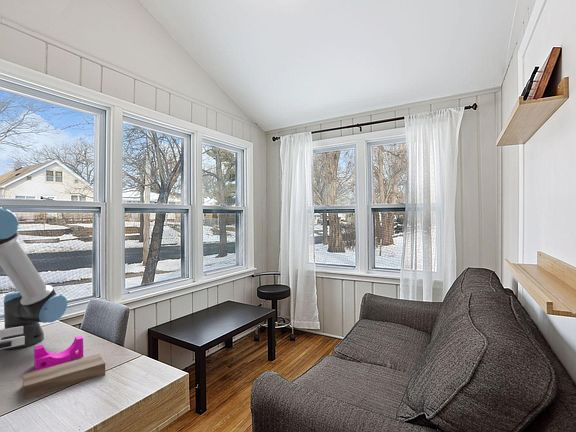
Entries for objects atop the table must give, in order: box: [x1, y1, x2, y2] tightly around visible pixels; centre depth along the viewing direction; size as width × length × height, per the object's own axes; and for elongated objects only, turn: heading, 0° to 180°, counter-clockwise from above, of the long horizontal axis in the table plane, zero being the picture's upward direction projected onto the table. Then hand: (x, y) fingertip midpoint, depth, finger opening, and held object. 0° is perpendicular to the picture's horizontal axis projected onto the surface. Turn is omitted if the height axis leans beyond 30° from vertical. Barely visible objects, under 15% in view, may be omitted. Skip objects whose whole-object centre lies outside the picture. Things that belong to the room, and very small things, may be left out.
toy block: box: [33, 335, 84, 371], centre depth 121 cm, size 15×6×8 cm, turn 134°
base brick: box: [22, 353, 106, 400], centre depth 107 cm, size 10×22×4 cm, turn 132°
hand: (24, 334), depth 112 cm, fingers open, 13 cm apart
